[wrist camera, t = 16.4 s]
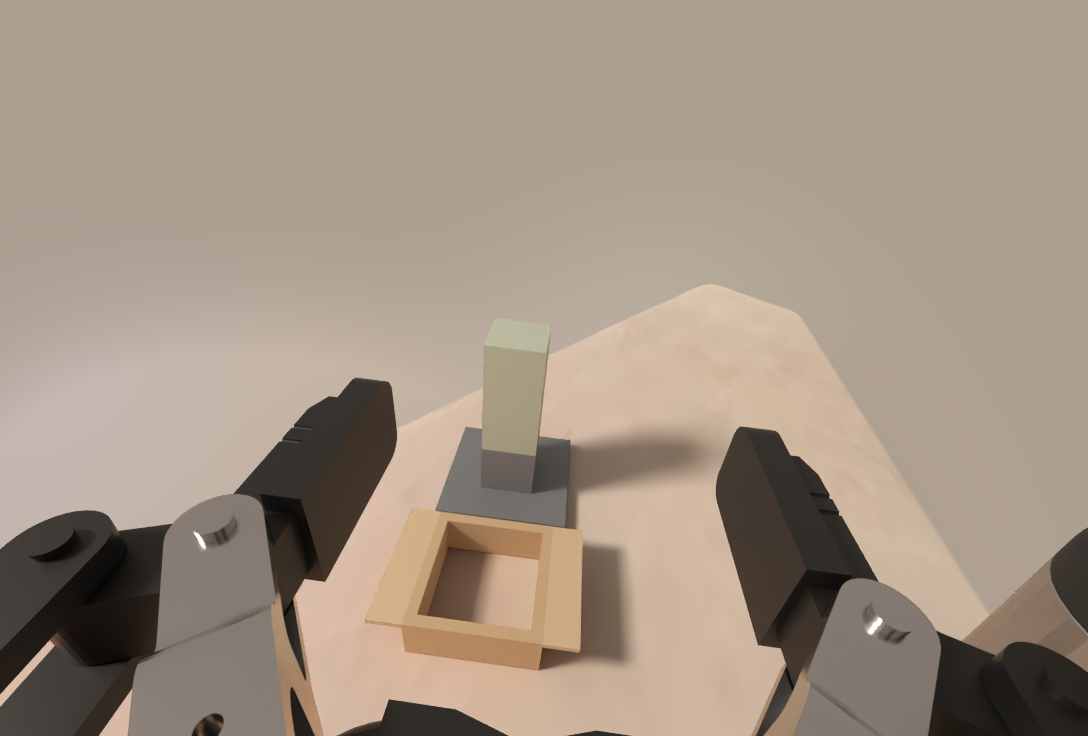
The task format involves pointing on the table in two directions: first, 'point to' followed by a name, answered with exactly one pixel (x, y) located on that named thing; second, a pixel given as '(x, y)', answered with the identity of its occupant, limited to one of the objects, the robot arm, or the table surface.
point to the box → (513, 403)
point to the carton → (409, 602)
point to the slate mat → (531, 508)
